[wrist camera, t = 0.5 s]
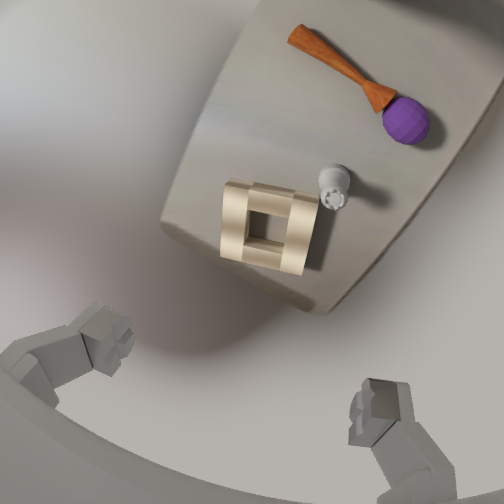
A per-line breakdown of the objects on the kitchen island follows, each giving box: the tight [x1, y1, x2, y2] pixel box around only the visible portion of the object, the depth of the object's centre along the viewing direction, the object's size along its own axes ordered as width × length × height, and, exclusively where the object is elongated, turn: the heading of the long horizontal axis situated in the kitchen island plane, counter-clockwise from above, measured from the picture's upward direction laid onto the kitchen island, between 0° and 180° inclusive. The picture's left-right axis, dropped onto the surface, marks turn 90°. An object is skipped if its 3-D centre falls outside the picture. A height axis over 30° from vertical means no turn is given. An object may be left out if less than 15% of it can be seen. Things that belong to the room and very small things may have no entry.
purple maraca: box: [287, 24, 429, 145], centre depth 30 cm, size 6×6×20 cm
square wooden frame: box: [220, 178, 320, 276], centre depth 44 cm, size 12×13×3 cm
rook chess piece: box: [318, 164, 351, 210], centre depth 36 cm, size 4×4×8 cm
